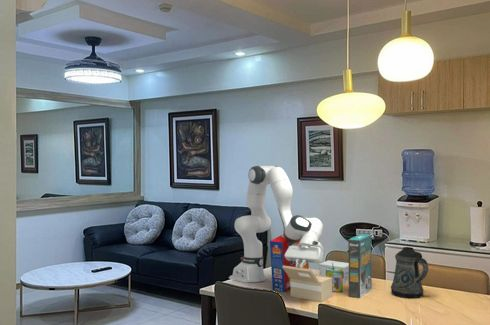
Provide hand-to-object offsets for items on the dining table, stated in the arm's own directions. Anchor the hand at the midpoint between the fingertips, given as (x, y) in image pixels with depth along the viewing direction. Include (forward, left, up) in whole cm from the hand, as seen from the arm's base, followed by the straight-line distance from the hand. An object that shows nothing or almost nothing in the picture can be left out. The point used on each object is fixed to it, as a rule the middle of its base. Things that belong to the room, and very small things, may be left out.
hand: (298, 267), depth 240 cm
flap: (-1, +8, -8) cm, 11 cm away
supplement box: (-8, +59, -18) cm, 62 cm away
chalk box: (+3, +34, -18) cm, 38 cm away
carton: (-1, +15, -18) cm, 23 cm away
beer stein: (+40, +48, -18) cm, 65 cm away
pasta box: (-21, +27, -16) cm, 38 cm away
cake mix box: (+17, +37, -18) cm, 44 cm away
